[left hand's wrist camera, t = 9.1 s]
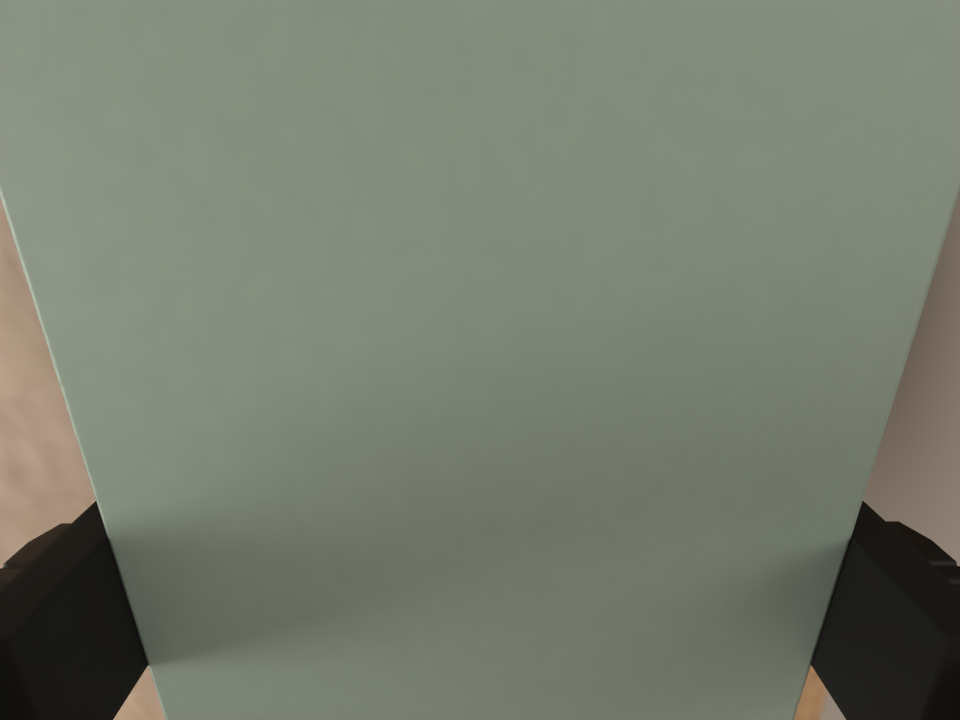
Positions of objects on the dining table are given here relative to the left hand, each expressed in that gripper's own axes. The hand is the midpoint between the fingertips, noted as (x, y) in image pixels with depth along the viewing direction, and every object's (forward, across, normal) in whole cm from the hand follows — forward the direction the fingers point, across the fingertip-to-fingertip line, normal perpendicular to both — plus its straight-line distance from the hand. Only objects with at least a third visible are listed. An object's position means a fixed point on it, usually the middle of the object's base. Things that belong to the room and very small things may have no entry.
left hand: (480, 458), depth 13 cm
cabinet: (+3, 0, -6) cm, 7 cm away
